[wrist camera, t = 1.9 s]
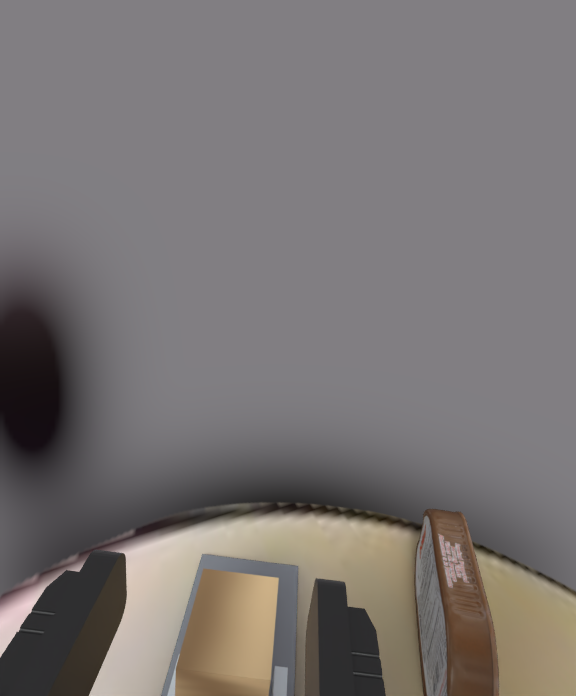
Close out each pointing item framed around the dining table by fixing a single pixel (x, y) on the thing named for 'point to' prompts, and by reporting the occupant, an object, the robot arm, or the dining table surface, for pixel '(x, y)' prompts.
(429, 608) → the tin
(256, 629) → the oak block
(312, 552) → the dining table surface
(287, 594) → the long grey tray
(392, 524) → the dining table surface
